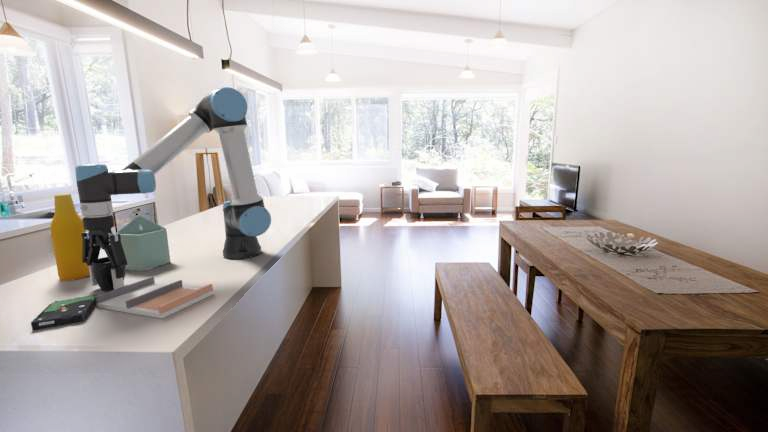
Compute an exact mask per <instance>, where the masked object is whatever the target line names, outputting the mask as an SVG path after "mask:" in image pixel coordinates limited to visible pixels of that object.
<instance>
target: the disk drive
mask: <svg viewBox="0 0 768 432" xmlns="http://www.w3.org/2000/svg"><path fill="white" fill-rule="evenodd" d="M98 295H99V294H93V295H86V296H80V297H74V298H70V299H69V298H68V299H65V300H64V299H63V300H55V301H54V302H51V303H49V304H48V306H46V308H44V309H43V310H42V311H41V312H40V313H39V314H37V316H36V317H35V318H33V320H32V321H31V322H30V326H31V330H32V331H39V329H40V330H44V329H51V328H55V327H62V326H66V325H73V324H74V325H75V324H78V323H84V322H86V320H87V319H88V317H90V314H91V313H92V312H93V310H94V309H95V308H96V307H97V304H96V298H95V296H98Z"/></svg>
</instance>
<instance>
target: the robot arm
mask: <svg viewBox="0 0 768 432" xmlns="http://www.w3.org/2000/svg"><path fill="white" fill-rule="evenodd" d="M248 108H249V107H248V101H247V100H246V98H245V96H244V94H242V93H241V92H240V91H239V90H238V89H236V88H233V87H229V86H224V87H223V86H222V87H219V88H218V87H217V88H216V89H213V91H211V92H210V93H207V94H206V95H205V96H204V97H203V98H202V99H201V100H200V101H199V102H198V104H196V105H195V107H194V108H192V109H191V110H190V111H188V116H187V117H186V118H185V119H184V120H182V121H181V122H180V123H179V124H177V125H176V126H175V127H173V128H172V129H171V130H169V132H168V133H166V134H165V135H164V136H163V137H161V138H160V139H158V141H156V142H155V143H154V144H152V145H151V146H150V147H149V148H148V149H146V150H145V151H144V152H142V154H140V155H139V156H138V157H137V158H135V159H134V160H132V162H131V163H128V165H127V166H125V167H124V168H123V169H120V170H111V169H109V168H108V167H107V165H106V164H103V163H98V164H94V163H93V164H92V163H91V164H88V163H87V164H79V165H77V166H76V167H75V178H76V179H75V180H76V187H77V191H78V193H77V194H78V198H79V199H78V200H79V204H80V208H79V209H80V210H81V215H82V216H83V217H82V221H83V227H84V229H85V230H86V232H84V233H82V234H81V235H82V240H83V245H82V262H83V263H86V264H87V265H88V266H89V272H90V276H89V277H90V283H91V286H92V287H94V286H99V285H98V283H97V281H96V279H95V276H94V273H93V268H92V261H93V260H96V259H99V258H100V252H101V249H102V250H103V251H104V252H105V254H106V257H108V258H109V260H110V262H111V264H112V268H111V273H112V280H113V287H114V289H118V288H121V287H124V286H125V279H124V280H123V269H122V267H123V266H125V265H127V260H126V257H125V253H124V250H123V247H122V244H121V236H120V234H115V233H113V231H112V228H114V227H115V225H116V224H115V219H114V217H115V216H114V214H113V213H114V209H113V203H112V202H113V201H112V196H119V195H138V194H149V193H150V194H151V193H154V192H155V191H156V189H157V187H156V186H157V184H156V176H155V175H156V174H157V173H158V172H160V171H161V170H162V169H164V167H166V166H167V165H168V164H169V163H170V162H172V161H173V160H174V159H175V158H177V157H178V156H179V155H180V154H181V153H182V152H184V151H185V150H186V149H187V148H188V147H190V146H191V145H192V144H194V142H196V141H197V140H198V139H199V138H200V137H202V136H203V135H204V134H210V133H211V132H212V131H215V132H216V133H217V134H218V137H219V141H220V144H221V149H222V154H223V158H224V161H225V167H226V170H227V175H228V179H229V183H230V184H229V185H230V186H231V192H232V196H233V199H232V200H227V201H224V202H223V204H222V211H223V213H222V214H223V221H224V231H225V240H224V245H223V249H222V257H223V256H224V257H225V259H228V258H241V259H246V258H245V257H248V258H251V257H250V256H253V257H255V256H254V255H256V256H258V255H257V254H259V253H260V254H262V246H261V245H260V242H259V239H258V236H261V235H263V234H265V233H266V232H267V231H268V230H269V228H270V227H271V224H272V217H271V214H270V212H269V210H268V209H267V208H266V207H265V202H264V198H263V197H262V196H260V195H259V194H258V189H257V185H256V181H255V176H254V170H253V167H252V161H251V158H250V153H249V149H248V147H249V146H248V143H247V139H246V135H245V130H246V128H247V127H248V123H247V119H246V115H247V112H248ZM260 254H259V255H260ZM86 257H88V258H86ZM224 257H223V258H224Z"/></svg>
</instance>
